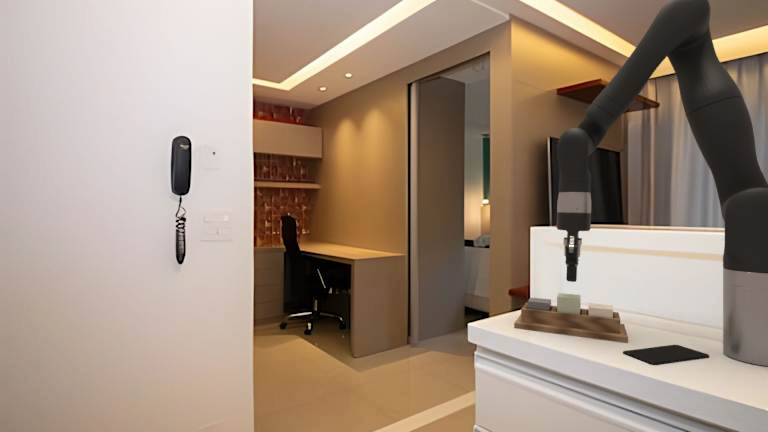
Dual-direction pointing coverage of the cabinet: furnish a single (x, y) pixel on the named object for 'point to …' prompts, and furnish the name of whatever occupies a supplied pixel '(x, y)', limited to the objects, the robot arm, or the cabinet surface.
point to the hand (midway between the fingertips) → (571, 280)
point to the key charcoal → (539, 304)
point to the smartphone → (665, 354)
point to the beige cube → (600, 310)
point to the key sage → (569, 303)
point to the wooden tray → (572, 324)
